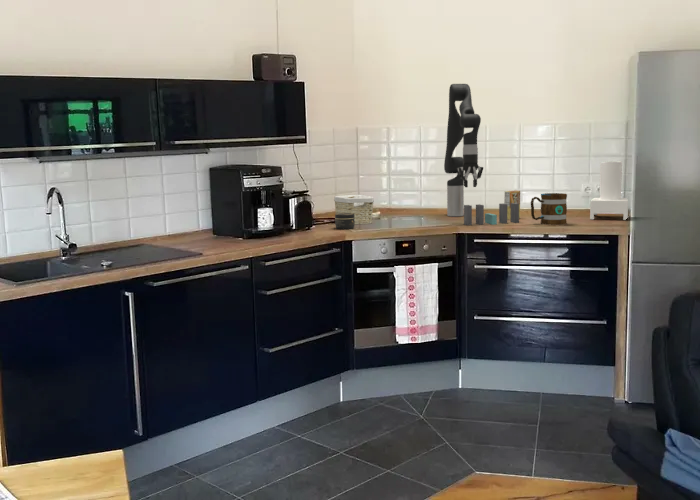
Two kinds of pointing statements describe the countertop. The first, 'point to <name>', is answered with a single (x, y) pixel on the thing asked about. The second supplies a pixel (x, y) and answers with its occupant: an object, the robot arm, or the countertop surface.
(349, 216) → the jar
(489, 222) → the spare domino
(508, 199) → the candy box
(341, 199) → the storage basket
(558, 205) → the mug
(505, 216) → the domino
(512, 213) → the domino
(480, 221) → the domino
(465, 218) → the domino
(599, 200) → the paper towel holder
